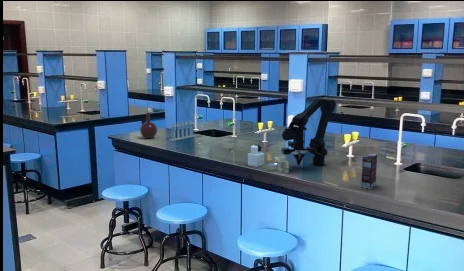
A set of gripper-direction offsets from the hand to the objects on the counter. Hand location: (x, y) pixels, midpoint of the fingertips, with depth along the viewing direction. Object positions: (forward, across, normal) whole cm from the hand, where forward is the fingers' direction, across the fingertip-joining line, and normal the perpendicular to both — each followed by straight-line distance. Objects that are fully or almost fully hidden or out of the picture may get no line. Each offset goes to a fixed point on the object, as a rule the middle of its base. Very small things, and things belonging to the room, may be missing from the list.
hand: (298, 165), depth 237 cm
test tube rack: (+2, +62, -104) cm, 121 cm away
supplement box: (+3, -24, +37) cm, 44 cm away
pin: (+1, +12, 0) cm, 12 cm away
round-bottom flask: (+2, +89, -107) cm, 139 cm away
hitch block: (+2, +10, 0) cm, 10 cm away
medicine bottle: (+2, +22, -13) cm, 26 cm away
